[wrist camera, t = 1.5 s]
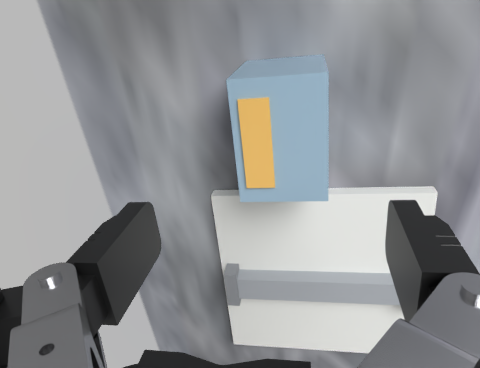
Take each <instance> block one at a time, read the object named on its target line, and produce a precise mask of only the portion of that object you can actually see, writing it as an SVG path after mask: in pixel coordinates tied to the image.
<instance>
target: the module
mask: <svg viewBox="0 0 480 368" xmlns="http://www.w3.org/2000/svg"><path fill="white" fill-rule="evenodd" d="M226 83H227V91H228V100H229V108H230V117H231V125H232V134H233V143H234V151H235V160H236V168H237V177H238V186H239V194H240V202H298V201H328V69H327V65H326V61H325V58H324V54H322V55H310V56H299V57H287V58H275V59H264V60H252V61H246V62H245V63H243V64H242V65H241V66H240V67H239V68H238V69H237V70H236V71H235V72H234V73H233V74H232V75H231V76H230V77H229V78H228V79H227V80H226Z"/></svg>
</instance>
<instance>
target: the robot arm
mask: <svg viewBox="0 0 480 368" xmlns="http://www.w3.org/2000/svg"><path fill="white" fill-rule="evenodd" d="M160 251H161V238H160V233H159V229H158V225H157V220H156V216H155V212H154V208H153V205H152V204H151V203H150V202H129V203H128V204H127V205H126V206H125V207H124V208H123V209H122V210H121V211H120V212H119V213H118V214H117V216H114V217H112V218H111V219H109V220H107V221H106V222H104V223H103V224H102V225H101V226H100V227H99V228H98V229H97V230H96V231H95V233H94V234H92V235H91V236H90V237H89V238H88V241H86V242H85V243H84V244H83V245H82V246H81V247H80V248H79V249H78V250H77V251H76V252H75V253H74V255H72V257H71V258H70V259H69V260H68V261H67V262H66V263H56V264H52V265H49V266H46V267H44V268H42V269H40V270H38V271H36V272H35V273H33V274H32V275H31V276H30V277H29V278H28V279H27V280H26V281H25V283H24V285H23V286H19V287H13V288H9V289H3V290H1V289H0V368H107V364H106V360H105V355H104V352H103V346H102V341H101V337H100V334H99V332H98V329H99V328H100V327H101V325H118V324H119V322H120V320H121V319H122V317H123V315H124V314H125V312H126V310H127V309H128V307H129V305H130V304H131V302H132V300H133V299H134V297H135V295H136V294H137V292H138V290H139V289H140V287H141V285H142V284H143V282H144V280H145V278H146V277H147V275H148V273H149V272H150V270H151V268H152V267H153V265H154V263H155V262H156V260H157V258H158V257H159V254H160ZM385 252H386V259H387V263H388V267H389V270H390V273H391V276H392V280H393V283H394V286H395V290H396V293H397V296H398V299H399V303H400V306H401V309H402V312H403V316H404V319H405V320H404V319H401V318H400V319H398V320H396V321H395V322H394V323H393V324H392V326H391V327H390V328H389V329H388V330H387V332H386V333H385V334H384V335H383V337H382V338H381V339H380V340H379V341H378V343H377V344H376V345H375V346H374V347H373V349H372V350H371V351H370V352H369V354H368V355H367V356H366V357H365V358H364V360H363V361H362V362H361V363H360V364H359V366H358V367H357V368H480V274H479V272H478V271H477V269H476V267H475V266H474V264H473V263H472V261H471V259H470V258H469V256H468V255H467V253H466V252H465V250H464V248H463V247H462V246H461V244H460V242H459V241H458V239H457V237H455V234H454V233H453V231H452V230H451V228H450V226H449V225H448V224H447V223H445V222H444V221H442V220H441V219H440V218H438V217H437V216H435V215H424V214H423V212H422V210H421V208H420V206H419V204H418V203H417V201H416V200H390V201H389V204H388V213H387V226H386V239H385ZM124 368H311V362H304V361H290V360H277V359H262V360H256V361H249V362H243V363H236V364H230V365H218V364H215V363H212V362H209V361H206V360H203V359H200V358H197V357H194V356H191V355H188V354H185V353H181V352H167V351H154V350H145V351H144V353H143V355H142V357H141V359H140V361H139V363H138V364H134V365H130V366H126V367H124Z"/></svg>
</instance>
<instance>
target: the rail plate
mask: <svg viewBox="0 0 480 368" xmlns="http://www.w3.org/2000/svg"><path fill="white" fill-rule="evenodd" d="M211 200H212V206H213V213H214V219H215V226H216V232H217V239H218V245H219V252H220V258H221V265H222V271H223V277H224V284H225V290H226V297H227V303H228V310H229V316H230V323H231V329H232V336H233V342H234V344H238V345H253V346H268V347H282V348H297V349H312V350H327V351H342V352H357V353H369V352H370V351H371V350H372V349H373V347H374V346H375V345H376V344H377V343H378V341H379V340H380V339H381V338H382V337H383V335H384V334H385V333H386V332H387V330H388V329H389V328H390V327H391V326H392V324H393V323H394V322H395V321H396V320H398V319H400V318H401V319H404V316H403V312H402V309H401V306H400V303H399V299H398V296H397V293H396V290H395V286H394V283H393V280H392V276H391V273H390V270H389V267H388V263H387V259H386V252H385V239H386V226H387V213H388V204H389V201H390V200H416V201H417V203H418V204H419V206H420V208H421V210H422V212H423V214H424V215H434V214H435V207H436V200H437V191H436V190H435V188H434V187H433V186H426V187H366V188H328V201H298V202H240V194H239V190H214V191H213V193H212V195H211ZM404 320H405V319H404Z"/></svg>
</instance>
